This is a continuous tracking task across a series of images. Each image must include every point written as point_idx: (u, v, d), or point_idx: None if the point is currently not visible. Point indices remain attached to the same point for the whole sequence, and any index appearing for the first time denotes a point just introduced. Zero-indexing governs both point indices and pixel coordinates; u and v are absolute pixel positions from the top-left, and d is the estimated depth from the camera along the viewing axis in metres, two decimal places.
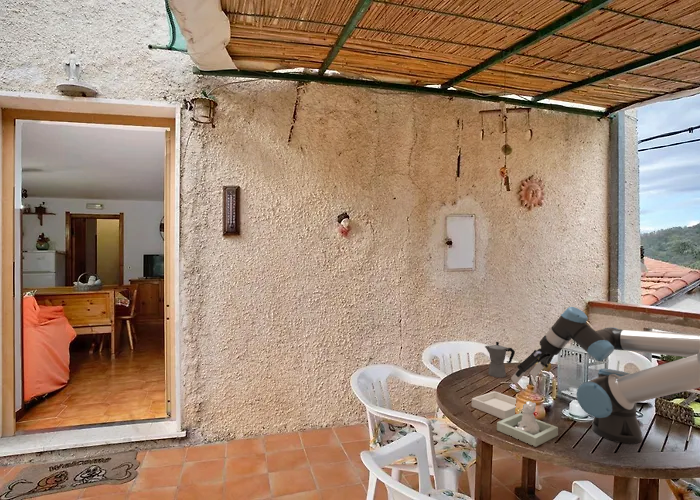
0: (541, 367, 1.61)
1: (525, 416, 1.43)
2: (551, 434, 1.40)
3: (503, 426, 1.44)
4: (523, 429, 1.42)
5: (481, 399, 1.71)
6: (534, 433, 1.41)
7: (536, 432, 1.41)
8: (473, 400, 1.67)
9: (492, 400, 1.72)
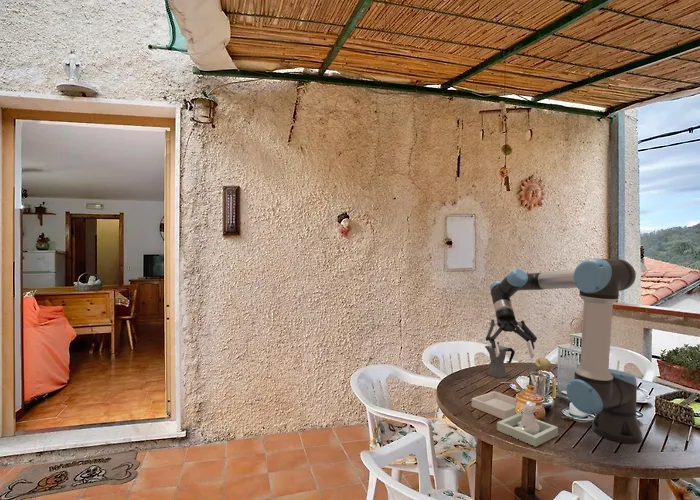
0: (528, 342, 1.60)
1: (525, 416, 1.43)
2: (551, 434, 1.40)
3: (503, 426, 1.44)
4: (523, 429, 1.42)
5: (481, 399, 1.71)
6: (534, 433, 1.41)
7: (536, 432, 1.41)
8: (473, 400, 1.67)
9: (492, 400, 1.72)
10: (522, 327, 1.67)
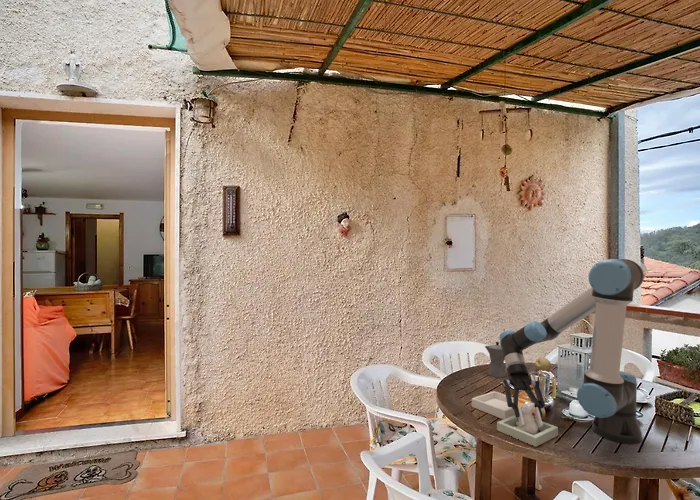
0: (536, 409, 1.44)
1: (523, 416, 1.43)
2: (551, 434, 1.40)
3: (503, 426, 1.44)
4: (521, 429, 1.42)
5: (481, 399, 1.71)
6: (532, 433, 1.41)
7: (534, 432, 1.41)
8: (473, 400, 1.67)
9: (492, 400, 1.72)
10: (535, 388, 1.51)
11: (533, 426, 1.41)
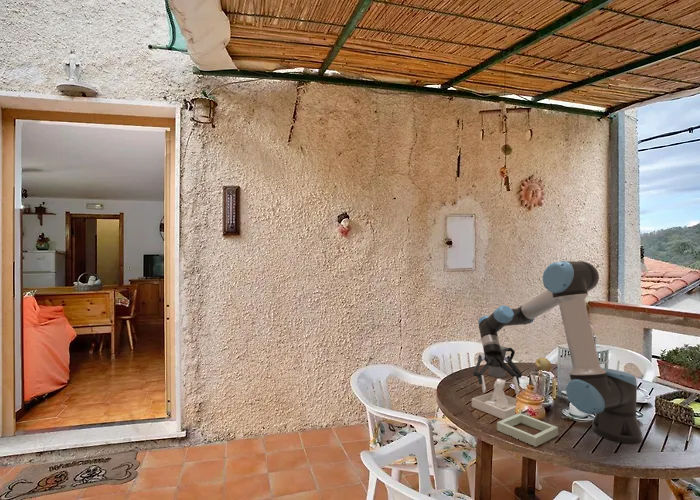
0: (514, 378, 1.67)
1: (495, 391, 1.65)
2: (551, 434, 1.40)
3: (503, 426, 1.44)
4: (493, 402, 1.64)
5: (481, 399, 1.71)
6: (503, 406, 1.63)
7: (504, 405, 1.63)
8: (473, 400, 1.67)
9: None
10: (508, 362, 1.73)
11: (503, 400, 1.63)
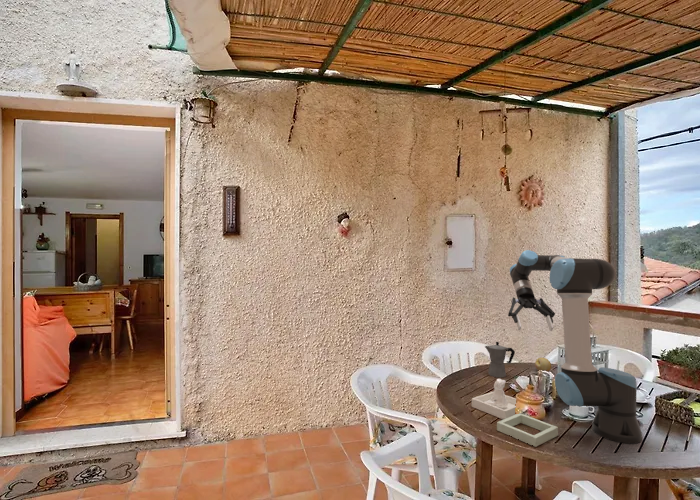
0: (547, 317, 1.76)
1: (495, 391, 1.65)
2: (551, 434, 1.40)
3: (503, 426, 1.44)
4: (493, 402, 1.64)
5: (481, 399, 1.71)
6: (503, 406, 1.63)
7: (504, 405, 1.63)
8: (473, 400, 1.67)
9: None
10: (541, 304, 1.83)
11: (503, 400, 1.63)
